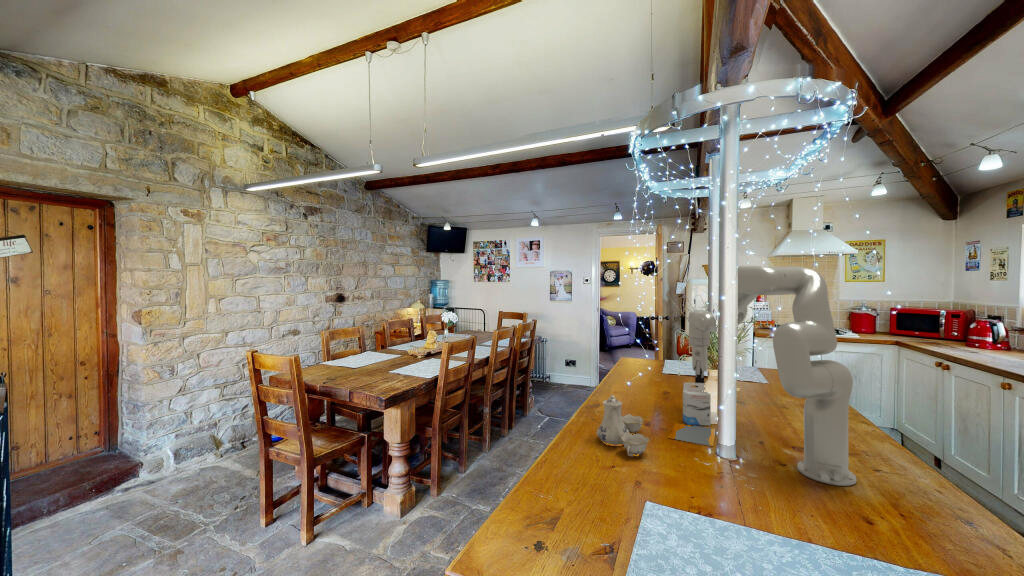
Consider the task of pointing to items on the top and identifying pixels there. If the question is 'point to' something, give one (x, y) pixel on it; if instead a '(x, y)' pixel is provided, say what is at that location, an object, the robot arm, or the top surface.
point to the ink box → (696, 405)
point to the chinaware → (621, 428)
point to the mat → (694, 434)
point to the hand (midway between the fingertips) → (699, 387)
